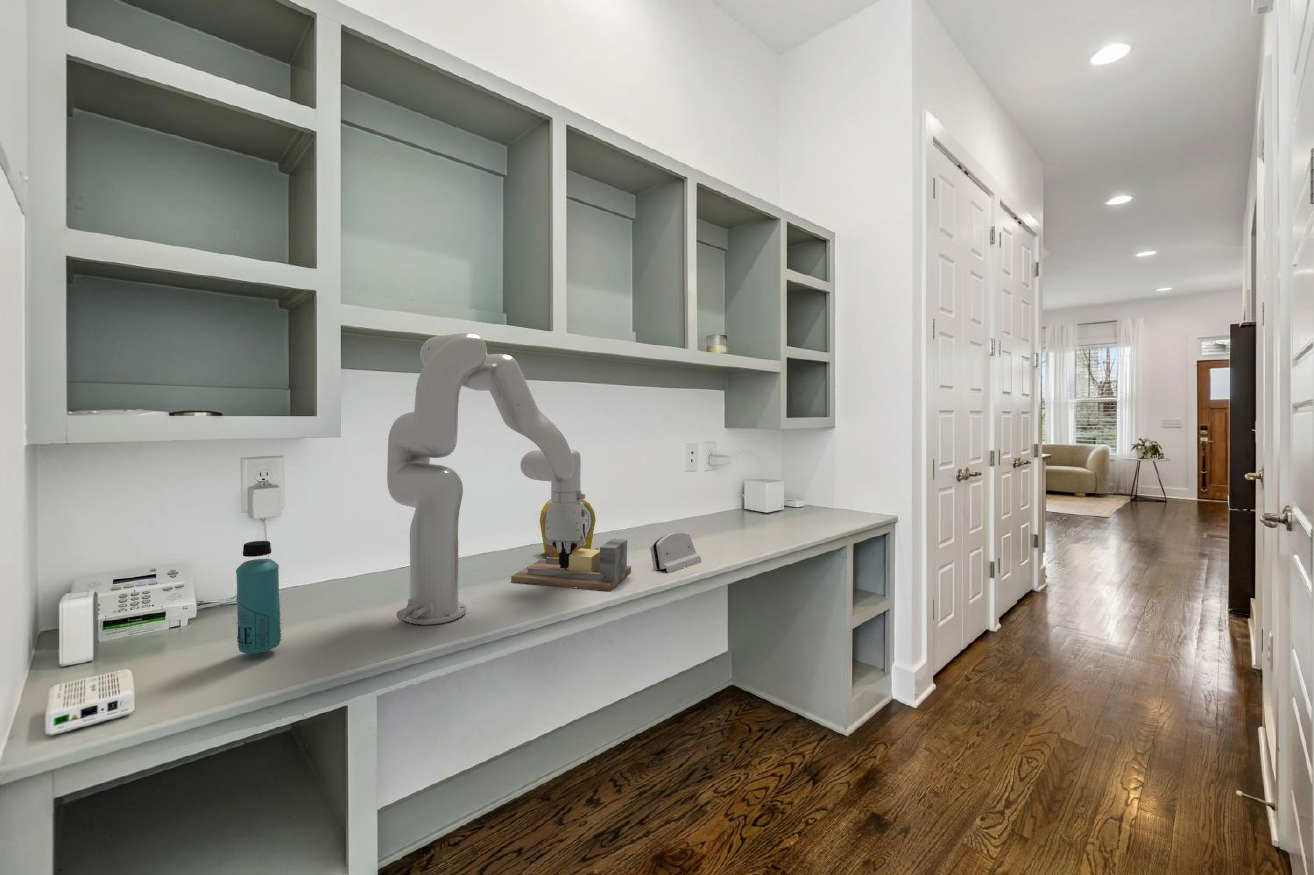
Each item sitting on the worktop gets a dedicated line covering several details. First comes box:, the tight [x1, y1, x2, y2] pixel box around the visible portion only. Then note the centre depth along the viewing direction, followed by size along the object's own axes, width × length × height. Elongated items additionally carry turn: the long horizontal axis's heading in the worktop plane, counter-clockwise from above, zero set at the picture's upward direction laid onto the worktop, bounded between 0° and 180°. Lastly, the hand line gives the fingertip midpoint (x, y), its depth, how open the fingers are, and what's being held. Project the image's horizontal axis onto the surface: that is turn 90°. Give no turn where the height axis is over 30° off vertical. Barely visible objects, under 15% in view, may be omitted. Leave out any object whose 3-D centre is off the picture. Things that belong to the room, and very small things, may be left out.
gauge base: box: [510, 538, 632, 592], centre depth 155 cm, size 18×26×10 cm
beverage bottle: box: [235, 540, 282, 654], centre depth 104 cm, size 6×7×20 cm
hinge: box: [649, 532, 702, 574], centre depth 168 cm, size 17×5×10 cm, turn 143°
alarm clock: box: [539, 498, 597, 558], centre depth 180 cm, size 15×8×18 cm, turn 123°
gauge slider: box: [569, 547, 600, 573], centre depth 157 cm, size 13×6×5 cm, turn 166°
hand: (565, 567), depth 156 cm, fingers closed
